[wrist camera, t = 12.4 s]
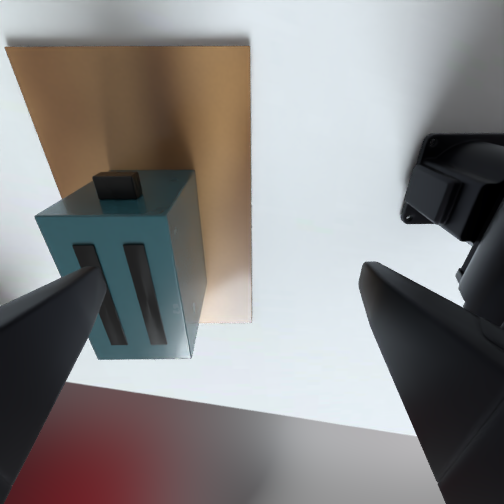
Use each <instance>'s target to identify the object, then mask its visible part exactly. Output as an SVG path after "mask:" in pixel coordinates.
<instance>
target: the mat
mask: <svg viewBox="0 0 504 504" xmlns="http://www.w3.org/2000/svg"><path fill="white" fill-rule="evenodd" d="M5 50H6V52H7V55H8V58H9V60H10V63H11V66H12V68H13V71H14V74H15V76H16V79H17V81H18V84H19V87H20V89H21V92H22V95H23V97H24V100H25V103H26V105H27V108H28V111H29V113H30V116H31V118H32V121H33V124H34V126H35V129H36V132H37V134H38V137H39V140H40V142H41V145H42V147H43V150H44V153H45V155H46V158H47V161H48V163H49V166H50V169H51V171H52V174H53V177H54V179H55V182H56V184H57V187H58V190H59V192H60V195H61V198H62V199H63V198H65V197H67V196H68V195H70V194H72V193H73V192H75V191H76V190H78V189H80V188H81V187H83V186H85V185H86V184H88V183H90V182H91V181H93V179H92V177H93V176H95V175H96V174H98V173H100V172H108V171H109V170H195V174H196V183H197V192H198V202H199V211H200V220H201V229H202V239H203V248H204V257H205V266H206V276H207V286H206V291H205V296H204V301H203V305H202V310H201V315H200V320H199V323H252V283H251V112H250V46H52V47H5Z"/></svg>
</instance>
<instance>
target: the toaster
mask: <svg viewBox="0 0 504 504" xmlns="http://www.w3.org/2000/svg"><path fill="white" fill-rule="evenodd" d="M92 179H93V181H91V182H90V183H88V184H86V185H85V186H83V187H81V188H80V189H78V190H76V191H75V192H73V193H72V194H70V195H68V196H67V197H65V198H63V199H62V200H60V201H58V202H57V203H55V204H54V205H52V206H50V207H49V208H47V209H45V210H44V211H42V212H40V213H39V214H37V215H35V219H36V222H37V224H38V226H39V228H40V231H41V233H42V235H43V237H44V240H45V242H46V244H47V246H48V248H49V251H50V253H51V255H52V257H53V260H54V262H55V264H56V266H57V269H58V271H59V273H60V275H61V278H62V277H64V276H66V275H68V274H70V273H72V272H74V271H76V270H79V269H81V268H83V267H86V266H97V267H99V269H100V270H101V273H102V275H103V278H104V281H105V283H106V288H107V289H106V294H105V297H104V299H103V302H102V305H101V307H100V310H99V312H98V315H97V318H96V320H95V323H94V326H93V328H92V330H91V332H90V335H89V337H88V338H89V340H90V342H91V345H92V347H93V349H94V351H95V354H96V356H97V358H98V359H99V360H114V359H191V358H192V354H193V349H194V344H195V339H196V334H197V329H198V325H199V320H200V315H201V310H202V305H203V301H204V296H205V291H206V286H207V276H206V266H205V257H204V248H203V239H202V229H201V220H200V211H199V202H198V192H197V183H196V174H195V170H109V171H108V172H100V173H98V174H96V175H95V176H93V177H92Z"/></svg>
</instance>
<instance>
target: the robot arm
mask: <svg viewBox="0 0 504 504" xmlns="http://www.w3.org/2000/svg"><path fill="white" fill-rule="evenodd" d="M432 139H434V143H433V144H432V145H430V142H431V140H432ZM404 200H405V204H404V207H403V210H402V214H401V220H402V221H403V222H404V223H405V224H437V225H439V226H441V227H442V228H444V229H445V230H446V231H448V232H449V233H450V234H452V235H453V236H454V237H456V238H457V239H459V240H460V241H466V242H467V243H468V244H470V245H471V246H472V248H471V250H470V252H469V254H468V256H467V258H466V260H465V262H464V264H463V266H462V268H459V269H458V271H457V273H456V275H455V276H456V278H457V280H458V283H459V291H460V293H461V295H462V297H463V299H464V301H465V303H464V305H463V307H464V308H463V307H461V306H459V305H457V304H455V303H453V302H452V301H450V300H448V299H446V298H444V297H442V296H440V295H438V294H436V293H435V292H433V291H431V290H429V289H427V288H425V287H423V286H421V285H420V284H418V283H416V282H414V281H412V280H410V279H408V278H406V277H405V276H403V275H401V274H399V273H397V272H395V271H393V270H391V269H390V268H388V267H386V266H384V265H382V264H380V263H378V262H365V263H363V265H362V269H361V274H360V278H359V290H360V293H361V297H362V300H363V304H364V307H365V310H366V314H367V317H368V321H369V324H370V327H371V329H372V332H373V334H374V336H375V339H376V341H377V343H378V346H379V348H380V350H381V353H382V355H383V357H384V360H385V362H386V364H387V367H388V369H389V371H390V374H391V376H392V378H393V381H394V383H395V385H396V388H397V390H398V392H399V395H400V397H401V399H402V402H403V404H404V406H405V409H406V411H407V414H408V416H409V418H410V421H411V423H412V425H413V428H414V430H415V432H416V435H417V437H418V439H419V441H420V444H421V446H422V448H423V451H424V453H425V455H426V458H427V460H428V462H429V465H430V467H431V470H432V472H433V474H434V476H435V479H436V481H437V482H438V486H439V488H440V491H441V493H442V496H443V498H444V500H445V503H446V504H504V133H437V134H429V135H428V136H426V138H425V139H424V141H423V144H422V147H421V150H420V154H419V157H418V160H417V164H416V166H415V167H414V168H413V172H412V175H411V178H410V182H409V185H408V189H407V192H406V195H405V199H404ZM409 215H410V218H408V219H406V218H407V216H409ZM106 289H107V288H106V283H105V281H104V278H103V275H102V273H101V270H100V269H99V267H97V266H86V267H83V268H81V269H79V270H76V271H74V272H72V273H70V274H68V275H66V276H64V277H62V278H59V279H57V280H55V281H53V282H51V283H49V284H47V285H45V286H43V287H40V288H38V289H36V290H34V291H32V292H30V293H28V294H26V295H23V296H21V297H19V298H17V299H15V300H13V301H11V302H9V303H6V304H4V305H2V306H0V504H4V502H5V500H6V498H7V496H8V494H9V492H10V490H11V488H12V485H13V483H14V482H15V480H16V478H17V476H18V474H19V472H20V470H21V468H22V466H23V464H24V462H25V460H26V458H27V456H28V454H29V452H30V451H31V449H32V446H33V445H34V443H35V441H36V439H37V437H38V435H39V432H40V431H41V429H42V427H43V425H44V423H45V421H46V419H47V417H48V415H49V413H50V411H51V409H52V407H53V405H54V403H55V401H56V399H57V397H58V396H59V394H60V392H61V390H62V388H63V386H64V384H65V382H66V380H67V378H68V376H69V374H70V372H71V370H72V368H73V366H74V364H75V362H76V360H77V358H78V356H79V354H80V352H81V350H82V348H83V347H84V345H85V343H86V341H87V339H88V337H89V335H90V332H91V330H92V328H93V326H94V323H95V320H96V318H97V315H98V312H99V310H100V307H101V305H102V302H103V299H104V297H105V294H106Z"/></svg>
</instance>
